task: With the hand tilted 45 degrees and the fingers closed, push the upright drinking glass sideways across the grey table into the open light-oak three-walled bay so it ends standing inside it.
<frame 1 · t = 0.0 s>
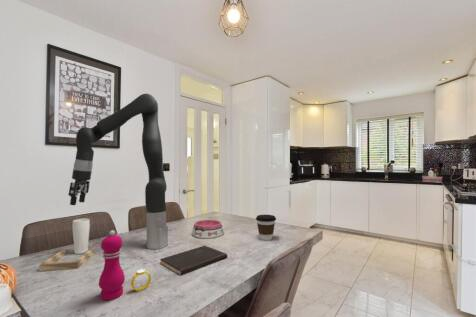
hand: (77, 203, 116), 22 cm above the table, tool pointing down, fingers open, 8 cm apart
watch: (141, 289, 80), on the table
coffee cup: (266, 239, 131), on the table
hardcover book: (194, 262, 103), on the table
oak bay: (69, 261, 103), on the table
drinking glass: (81, 252, 114), on the table
dog bowl: (208, 234, 142), on the table
pepper mill: (112, 295, 76), on the table
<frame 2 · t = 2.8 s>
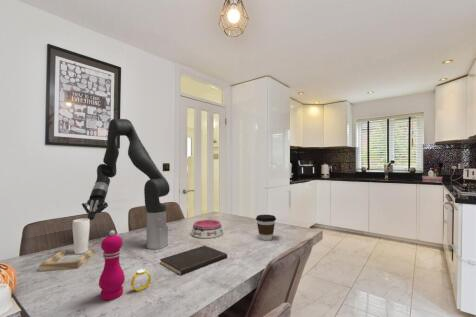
hand: (90, 219, 124), 13 cm above the table, tool tilted 45°, fingers closed
nothing on the table moved.
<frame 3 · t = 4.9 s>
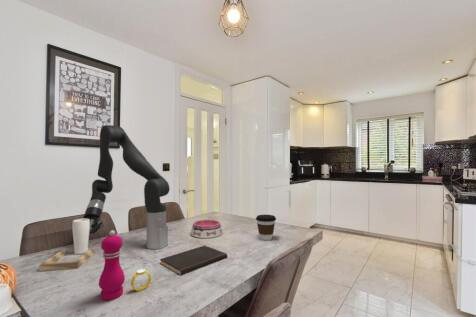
hand: (84, 240, 117), 4 cm above the table, tool tilted 45°, fingers closed
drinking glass: (81, 252, 114), on the table, touching gripper
everything else where it was.
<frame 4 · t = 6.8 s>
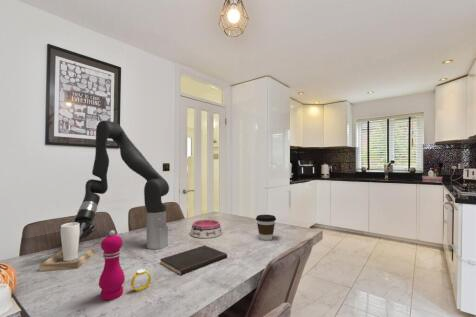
hand: (74, 246, 109), 5 cm above the table, tool tilted 45°, fingers closed
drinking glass: (70, 259, 106), on the table, touching gripper
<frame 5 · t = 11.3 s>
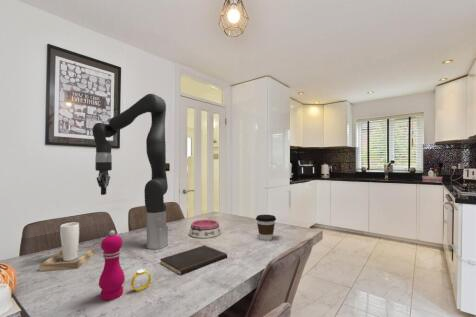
hand: (103, 194, 128), 25 cm above the table, tool pointing down, fingers closed
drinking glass: (70, 259, 106), on the table
at the end: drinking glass 2.5 cm from the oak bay (horizontally); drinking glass tilted 3° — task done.
